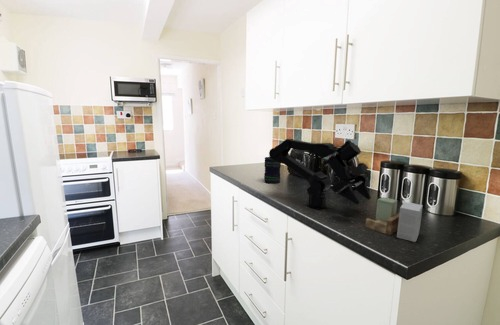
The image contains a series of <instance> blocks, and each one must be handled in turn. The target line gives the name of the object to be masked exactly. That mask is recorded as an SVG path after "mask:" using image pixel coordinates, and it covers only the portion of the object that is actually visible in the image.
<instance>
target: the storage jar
mask: <svg viewBox="0 0 500 325" xmlns="http://www.w3.org/2000/svg"><path fill="white" fill-rule="evenodd" d="M281 165H282V163H279V162H276V161H274V160H272V159H271V158H270V157H269V156H267V157H264V174H263V177H264V179H263V180H264V184H268V185H278V184H280V183H281Z"/></svg>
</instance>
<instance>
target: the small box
mask: <svg viewBox="0 0 500 325" xmlns="http://www.w3.org/2000/svg"><path fill="white" fill-rule="evenodd" d="M398 213H399V222H398V230H397V231H396V232H397V233H396V238H398V239H402V240H404V241H405V240H406V241H410V242H412V243H416V242H417V239H418V237H419V234H420V229H421V223H422V215H423V204H418V203H414V202H413V203H412V202H409V201H408V202H407V201H403V202H402V205H401V206H400V207H399V212H398Z"/></svg>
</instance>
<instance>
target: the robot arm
mask: <svg viewBox="0 0 500 325" xmlns="http://www.w3.org/2000/svg"><path fill="white" fill-rule="evenodd" d="M292 149H294V150H298V151H304V152H309V153H312V154H313V155H314V156H318V157H319V158H323V159H324V158H327V159H324V160H323V163H322V164H323V167H327V166H329V167H330V169H331V170H332V172H333V173H334V174H333V176H334V178H338V181H337V182H336V183H334V185H332V181H331V179H330V177H329V175H326V174H325V173H323V172H322V171H317V172H314V171H312V169H310V168H308V167H306V166H305V165H304V164H302V163H300V162H299V161H297V160H296V159H294V158H293V157H291V156H290V153H289V152H290V151H291V150H292ZM361 153H362V151H361V149H360V147H359V146H358V145H357V144H356V143H354V142H352V141H351V140H350V139H348V140H346V141H344V143H343V144H342V145H341V146H340V147H339V146H335V145H334V144H333V143H332V142H318V143H315V142H310V141H309V142H308V141H304V140H297V139H293V138H286V139H285V140H283V141H282V142H281V143H278V145H276V146H275V147H272V148H271V149H270V150H269V152H268V157H270V158H271V159H272V160H274V161H276V162H279V163H281V164H284V166H286V167H288V168H289V169H290V170H292V171H293V172H295V173H296V174H297V175H299V176H300V177H301V178H303V179H304V180H306V181H307V183H308V185H309V187H308V188H307V189H306V191H307V194H308V204H306V207H310V208H312V209H316V210H321V209H324V208H327V205H326V204H327V198H326V197H327V196H326V193H327V191H328V190H329V189H330V188H332V191H333V193H334V194H337V195H340V196H342V197H344V198H346V199H347V200H349V201H350V202H352V203H353V204H355V205H359V204H360V201H359V199H358V197H357V195H356V194H355V192H354V190H356V191H357V193H359V194H360V195H362V197H364V198H365V199H367V200H371V199H372V198H371V195H370V192H369V190H368V185H367V184H368V181H369V177H368V175H367V173H368V168H369V166H367V165H366V164H365V163H364V162H361V163H358V164H357V166H354V167H353V166H351V165H347V163H346V162H351V161H352V160H354V158H356V157H357V156H358V155H360V154H361ZM331 186H332V187H331ZM353 187H354V190H353Z"/></svg>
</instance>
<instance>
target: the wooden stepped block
mask: <svg viewBox="0 0 500 325" xmlns="http://www.w3.org/2000/svg"><path fill="white" fill-rule="evenodd" d="M398 222H399V212H398V213H396V215H394V216H393V217H391V218H389V219H388V220H387V222H384V221H381V220H377V221H376V219H375V220H374V219H373V218H372V219H371V218H368V217H367V218H366V219H365V228H366V229H370V230H372V231H376V232H379V233H382V234H385V235H389V236H391V235H393V234H394V233H395V232H397V231H398Z"/></svg>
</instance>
